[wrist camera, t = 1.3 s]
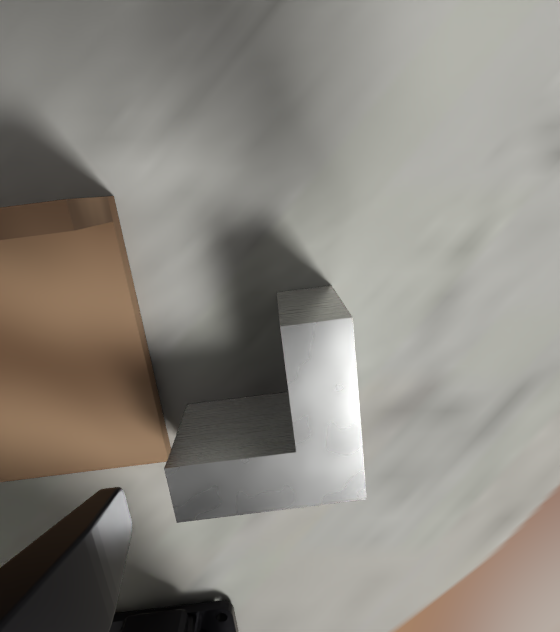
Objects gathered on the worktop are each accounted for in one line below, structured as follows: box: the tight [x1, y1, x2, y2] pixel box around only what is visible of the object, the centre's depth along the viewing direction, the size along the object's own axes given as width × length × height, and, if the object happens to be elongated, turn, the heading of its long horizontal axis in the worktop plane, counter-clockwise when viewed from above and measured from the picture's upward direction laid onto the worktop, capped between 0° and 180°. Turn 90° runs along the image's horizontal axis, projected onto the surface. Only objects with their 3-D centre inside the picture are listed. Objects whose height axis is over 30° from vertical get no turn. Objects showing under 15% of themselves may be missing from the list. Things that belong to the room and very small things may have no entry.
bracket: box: [164, 285, 367, 523], centre depth 15 cm, size 6×6×4 cm
